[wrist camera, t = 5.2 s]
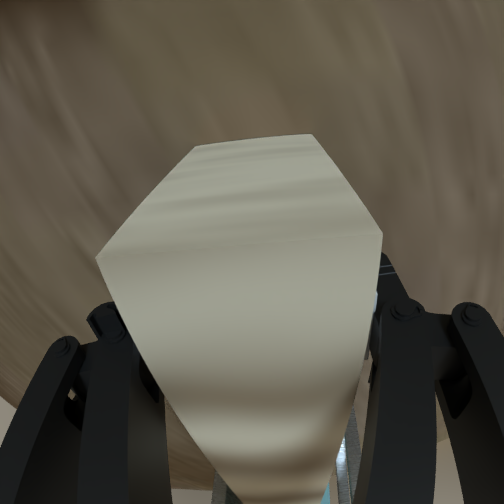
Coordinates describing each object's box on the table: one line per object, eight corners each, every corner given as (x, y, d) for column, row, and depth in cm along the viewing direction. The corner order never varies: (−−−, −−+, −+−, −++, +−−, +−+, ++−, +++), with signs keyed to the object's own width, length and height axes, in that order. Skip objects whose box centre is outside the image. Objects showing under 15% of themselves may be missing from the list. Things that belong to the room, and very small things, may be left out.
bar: (312, 412, 24) (318, 508, 16) (254, 415, 24) (249, 510, 16) (311, 133, 12) (382, 233, 5) (195, 146, 13) (95, 257, 5)
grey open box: (342, 444, 28) (351, 541, 18) (242, 451, 29) (235, 547, 19) (352, 400, 23) (370, 533, 12) (222, 410, 24) (207, 540, 14)
